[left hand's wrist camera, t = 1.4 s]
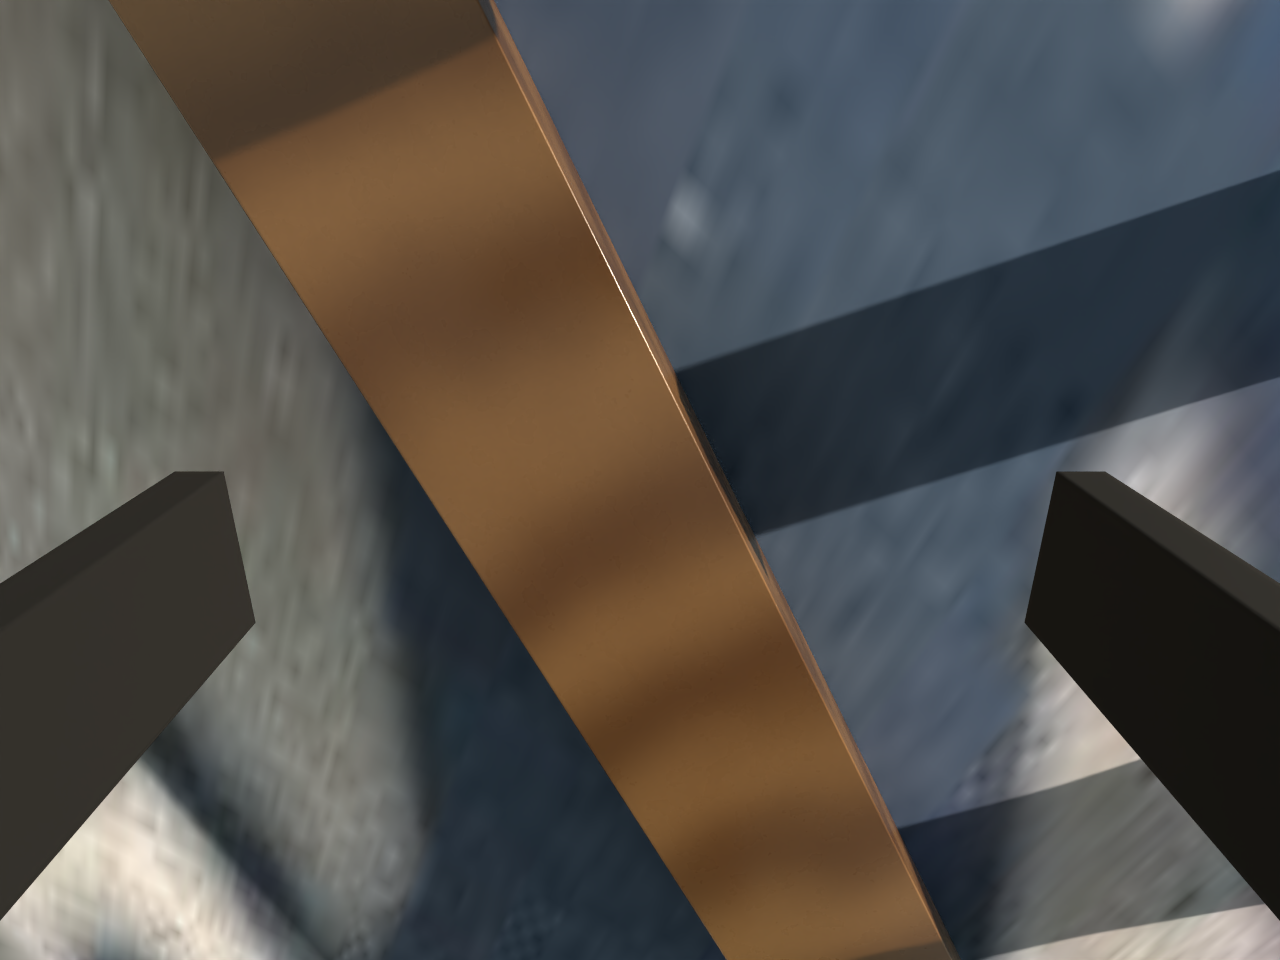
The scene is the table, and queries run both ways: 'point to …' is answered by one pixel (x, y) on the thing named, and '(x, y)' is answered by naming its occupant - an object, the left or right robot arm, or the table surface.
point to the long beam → (550, 441)
